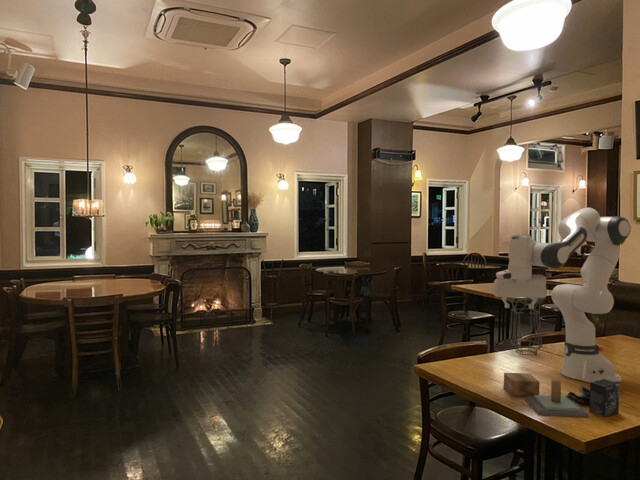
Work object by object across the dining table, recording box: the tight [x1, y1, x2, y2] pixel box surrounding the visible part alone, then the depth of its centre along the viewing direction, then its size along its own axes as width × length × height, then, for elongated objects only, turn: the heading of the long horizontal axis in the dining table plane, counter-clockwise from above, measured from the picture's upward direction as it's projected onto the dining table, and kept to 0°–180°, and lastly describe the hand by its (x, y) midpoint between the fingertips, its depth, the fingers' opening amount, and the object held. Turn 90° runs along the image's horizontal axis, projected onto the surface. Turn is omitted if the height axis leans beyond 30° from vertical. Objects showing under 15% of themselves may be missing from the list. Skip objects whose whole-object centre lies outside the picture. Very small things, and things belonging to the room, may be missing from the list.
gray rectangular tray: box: [525, 397, 589, 418], centre depth 162 cm, size 16×13×2 cm
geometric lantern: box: [507, 296, 547, 356], centre depth 233 cm, size 16×16×35 cm
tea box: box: [502, 372, 540, 398], centre depth 178 cm, size 10×10×6 cm
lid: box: [534, 379, 579, 411], centre depth 162 cm, size 11×11×8 cm
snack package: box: [565, 385, 590, 405], centre depth 168 cm, size 12×6×12 cm
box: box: [588, 379, 620, 418], centre depth 159 cm, size 8×6×11 cm
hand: (519, 308), depth 187 cm, fingers open, 8 cm apart
